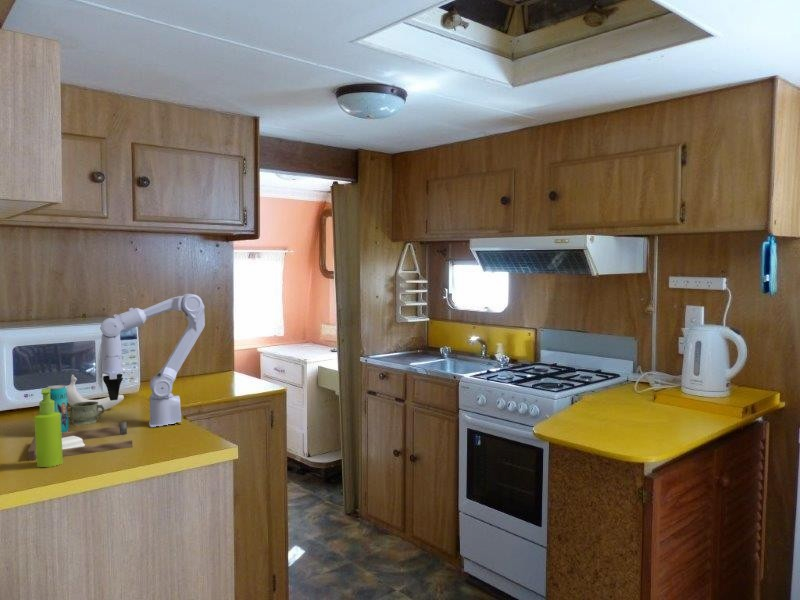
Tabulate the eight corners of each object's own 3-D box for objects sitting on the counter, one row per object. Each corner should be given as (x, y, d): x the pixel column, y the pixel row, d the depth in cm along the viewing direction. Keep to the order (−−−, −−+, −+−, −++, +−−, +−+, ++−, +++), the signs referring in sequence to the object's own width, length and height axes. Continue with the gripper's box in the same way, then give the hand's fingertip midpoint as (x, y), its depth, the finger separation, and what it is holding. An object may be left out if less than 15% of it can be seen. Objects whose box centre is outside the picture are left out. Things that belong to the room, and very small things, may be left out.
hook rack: (129, 432, 192) (129, 421, 192) (132, 447, 175) (132, 434, 175) (35, 443, 181) (34, 432, 181) (28, 460, 164) (27, 447, 164)
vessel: (65, 427, 201) (64, 408, 200) (64, 422, 208) (63, 403, 208) (106, 422, 207) (105, 403, 206) (103, 417, 214) (102, 399, 214)
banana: (124, 410, 225) (123, 370, 224) (65, 417, 215) (63, 375, 215) (123, 407, 229) (121, 368, 228) (65, 414, 219) (63, 373, 219)
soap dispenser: (36, 470, 156) (32, 392, 155) (37, 463, 162) (33, 387, 161) (62, 466, 158) (58, 389, 158) (63, 459, 165) (59, 385, 164)
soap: (53, 454, 171) (53, 444, 170) (43, 450, 175) (42, 440, 175) (86, 447, 178) (86, 437, 178) (76, 443, 182) (75, 433, 182)
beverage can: (59, 437, 188) (57, 388, 188) (43, 436, 189) (41, 388, 189) (73, 432, 194) (71, 384, 193) (57, 431, 195) (55, 384, 194)
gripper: (98, 354, 200) (99, 396, 200) (97, 359, 187) (99, 404, 187) (121, 352, 203) (123, 393, 203) (123, 357, 190) (125, 401, 190)
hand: (113, 398), depth 195 cm, fingers open, 4 cm apart
